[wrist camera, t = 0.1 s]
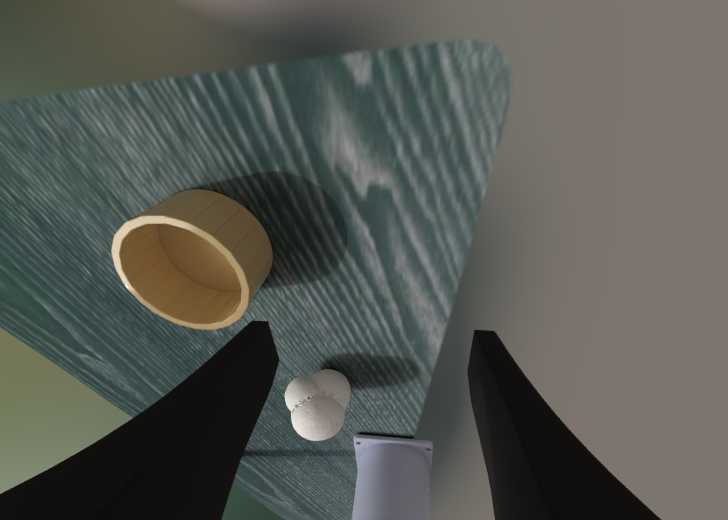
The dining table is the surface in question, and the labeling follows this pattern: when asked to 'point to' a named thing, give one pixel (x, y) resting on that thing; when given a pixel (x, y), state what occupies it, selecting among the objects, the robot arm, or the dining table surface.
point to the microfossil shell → (318, 403)
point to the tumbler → (194, 258)
